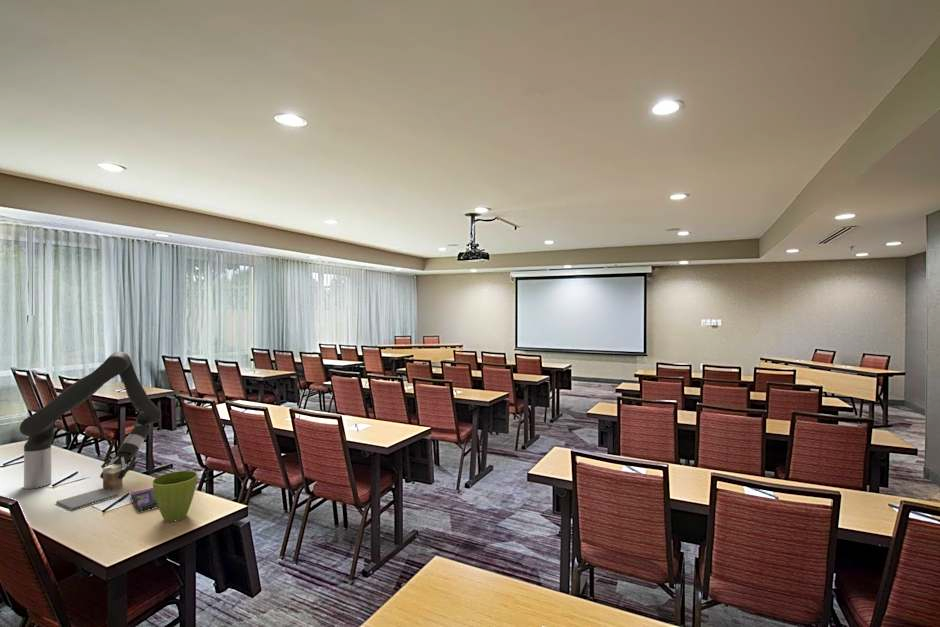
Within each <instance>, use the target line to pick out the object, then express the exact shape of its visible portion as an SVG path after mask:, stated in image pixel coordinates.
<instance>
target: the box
mask: <svg viewBox="0 0 940 627" xmlns="http://www.w3.org/2000/svg"><path fill="white" fill-rule="evenodd" d="M131 499H132V500H133V502H132V504H133V503H134V504H133V505H135V506H134V508H135V509H136V508H137V509H136V511H137V510H138V511H137V513H138V512H140V513H142V511H143V512H146V511H145V510H147V511H149V510H148V509H151V510H153V509H152V508H155V507H158V505H157V502H156V498H155V494H154V489H153V487H150V488H147V489H143V490H138V491H134V492H133V491H132V492H131V493H130V500H131ZM132 500H131V501H132ZM155 509H156V508H155Z"/></svg>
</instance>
